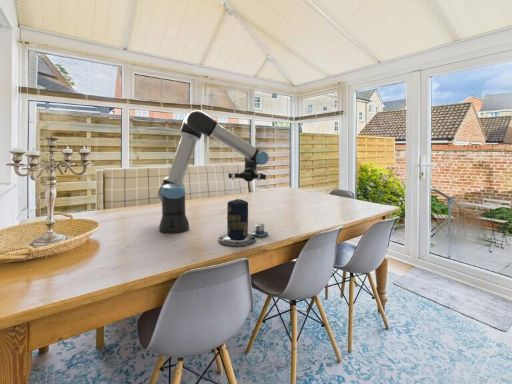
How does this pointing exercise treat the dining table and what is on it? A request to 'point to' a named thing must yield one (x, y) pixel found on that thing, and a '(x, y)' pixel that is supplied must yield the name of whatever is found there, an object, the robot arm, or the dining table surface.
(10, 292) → the dining table surface
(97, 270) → the dining table surface
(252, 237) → the flange wide
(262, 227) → the flange small
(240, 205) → the canister
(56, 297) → the dining table surface
